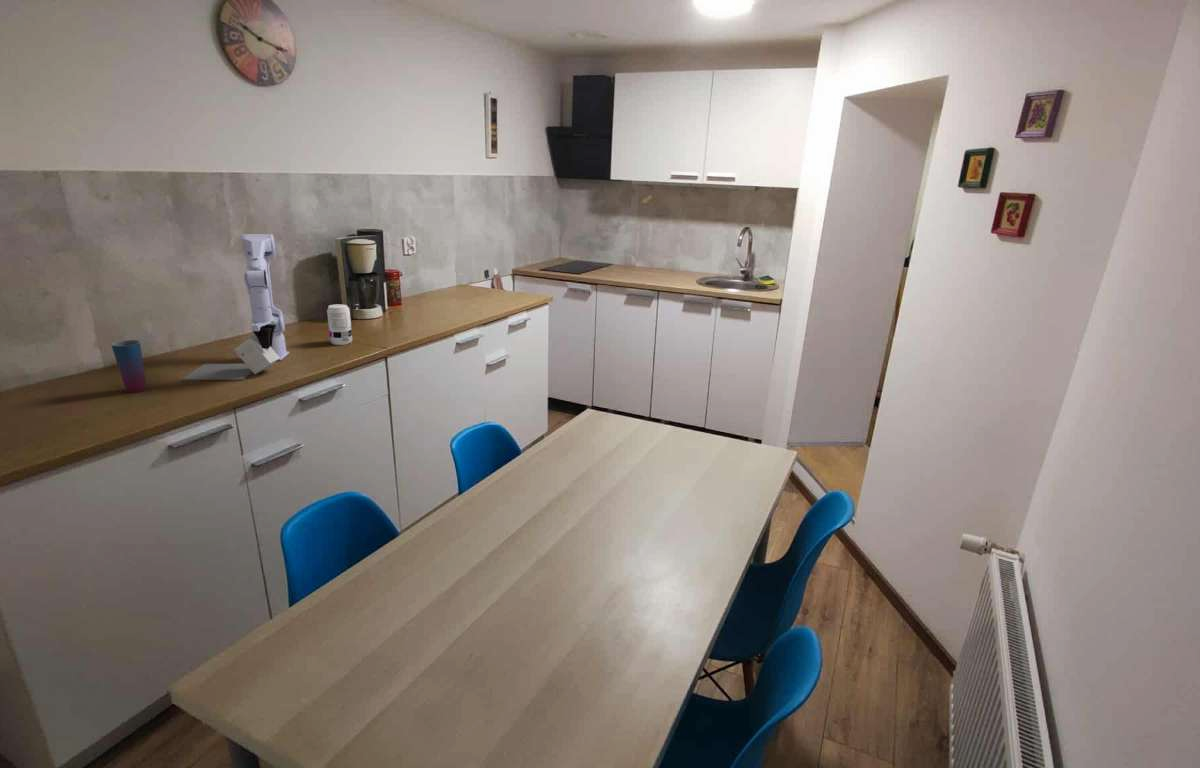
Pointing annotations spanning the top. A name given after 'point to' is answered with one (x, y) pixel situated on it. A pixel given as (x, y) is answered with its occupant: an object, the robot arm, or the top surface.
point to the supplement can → (339, 324)
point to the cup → (130, 364)
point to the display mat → (219, 372)
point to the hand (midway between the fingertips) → (266, 347)
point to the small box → (256, 355)
